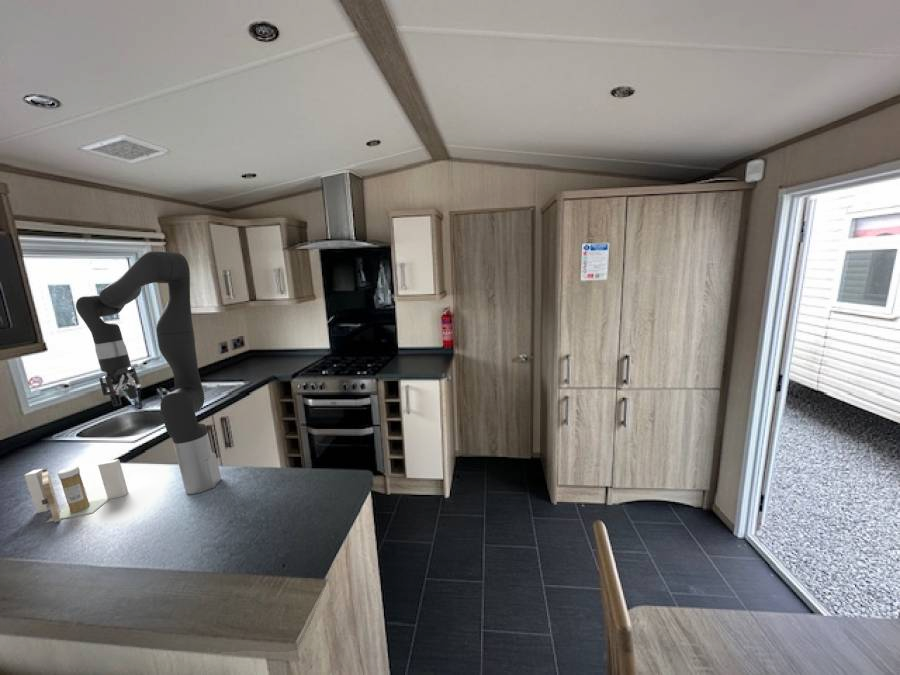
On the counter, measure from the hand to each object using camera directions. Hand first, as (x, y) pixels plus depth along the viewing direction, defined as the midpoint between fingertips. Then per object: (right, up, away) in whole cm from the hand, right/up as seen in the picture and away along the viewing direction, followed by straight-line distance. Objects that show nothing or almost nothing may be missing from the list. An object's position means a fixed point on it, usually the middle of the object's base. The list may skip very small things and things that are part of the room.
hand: (126, 401), depth 125 cm
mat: (-6, -32, -10) cm, 34 cm away
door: (-12, -33, -11) cm, 37 cm away
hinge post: (-19, -33, -7) cm, 39 cm away
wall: (0, -30, -4) cm, 30 cm away
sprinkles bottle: (-6, -32, -10) cm, 34 cm away
